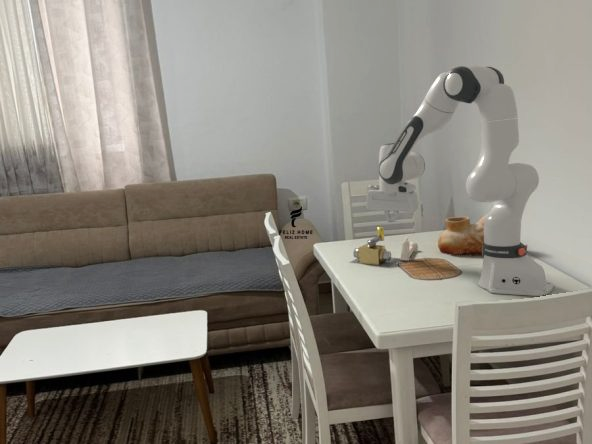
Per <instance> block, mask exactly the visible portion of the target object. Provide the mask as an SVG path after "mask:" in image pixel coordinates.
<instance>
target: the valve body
mask: <svg viewBox="0 0 592 444" xmlns="http://www.w3.org/2000/svg"><path fill="white" fill-rule="evenodd" d="M353 257H354V258H355V259H357V258H358V259H359V263H362V264H361V265H366V264H371V265H370V266H375V265H380V264H382V263H385V262H386V261H390V260H391V258H392V253H391V251H390V250H387V249H386V245H381V244H376V247H368V243H365V244H363V245H362V246H358V248H357V247H355V248H354V250H353Z"/></svg>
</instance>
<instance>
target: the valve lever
mask: <svg viewBox="0 0 592 444" xmlns="http://www.w3.org/2000/svg"><path fill="white" fill-rule="evenodd" d="M384 229H385V228H384V226H378V227H377V229H376V230H377V236H375V237H374V238H372V239H368V240H367V244H368V247H376V245H377V243H379V242H383V241H385V230H384Z"/></svg>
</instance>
